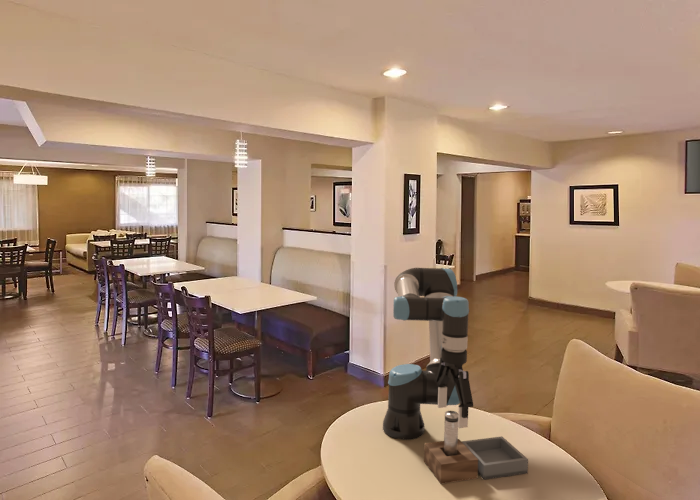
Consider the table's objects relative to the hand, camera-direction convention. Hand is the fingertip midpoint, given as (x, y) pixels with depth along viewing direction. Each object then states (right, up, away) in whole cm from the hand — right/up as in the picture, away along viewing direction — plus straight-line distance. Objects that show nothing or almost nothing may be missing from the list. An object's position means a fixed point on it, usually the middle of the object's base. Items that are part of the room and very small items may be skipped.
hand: (451, 416), depth 135 cm
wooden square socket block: (0, -17, +2) cm, 17 cm away
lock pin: (0, -17, +2) cm, 17 cm away
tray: (+14, -17, +5) cm, 23 cm away
